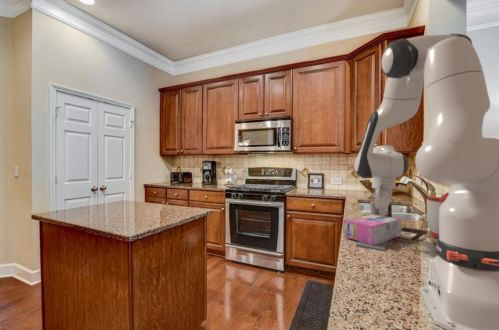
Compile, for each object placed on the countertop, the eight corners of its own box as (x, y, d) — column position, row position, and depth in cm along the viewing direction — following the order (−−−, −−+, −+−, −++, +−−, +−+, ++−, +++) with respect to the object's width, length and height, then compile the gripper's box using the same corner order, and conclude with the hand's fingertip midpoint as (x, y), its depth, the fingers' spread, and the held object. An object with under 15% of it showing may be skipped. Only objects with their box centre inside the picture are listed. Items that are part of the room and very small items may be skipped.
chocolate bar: (425, 231, 116) (414, 238, 104) (425, 232, 116) (414, 241, 104) (404, 227, 123) (391, 234, 111) (404, 229, 123) (391, 236, 111)
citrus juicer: (482, 240, 103) (482, 193, 103) (458, 245, 96) (457, 195, 96) (442, 230, 117) (441, 189, 117) (418, 235, 111) (418, 191, 111)
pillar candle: (396, 229, 120) (396, 199, 121) (381, 231, 117) (381, 200, 117) (380, 225, 130) (379, 197, 130) (366, 227, 126) (365, 198, 127)
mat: (384, 251, 91) (384, 249, 91) (356, 246, 97) (356, 244, 97) (391, 235, 110) (391, 234, 110) (367, 232, 116) (367, 231, 116)
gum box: (403, 235, 108) (374, 229, 120) (403, 218, 108) (374, 213, 120) (373, 245, 96) (343, 237, 107) (372, 225, 96) (343, 219, 107)
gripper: (389, 186, 91) (389, 222, 91) (394, 182, 108) (394, 213, 108) (371, 185, 95) (371, 220, 95) (378, 182, 112) (378, 212, 112)
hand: (383, 216), depth 102 cm, fingers open, 8 cm apart
